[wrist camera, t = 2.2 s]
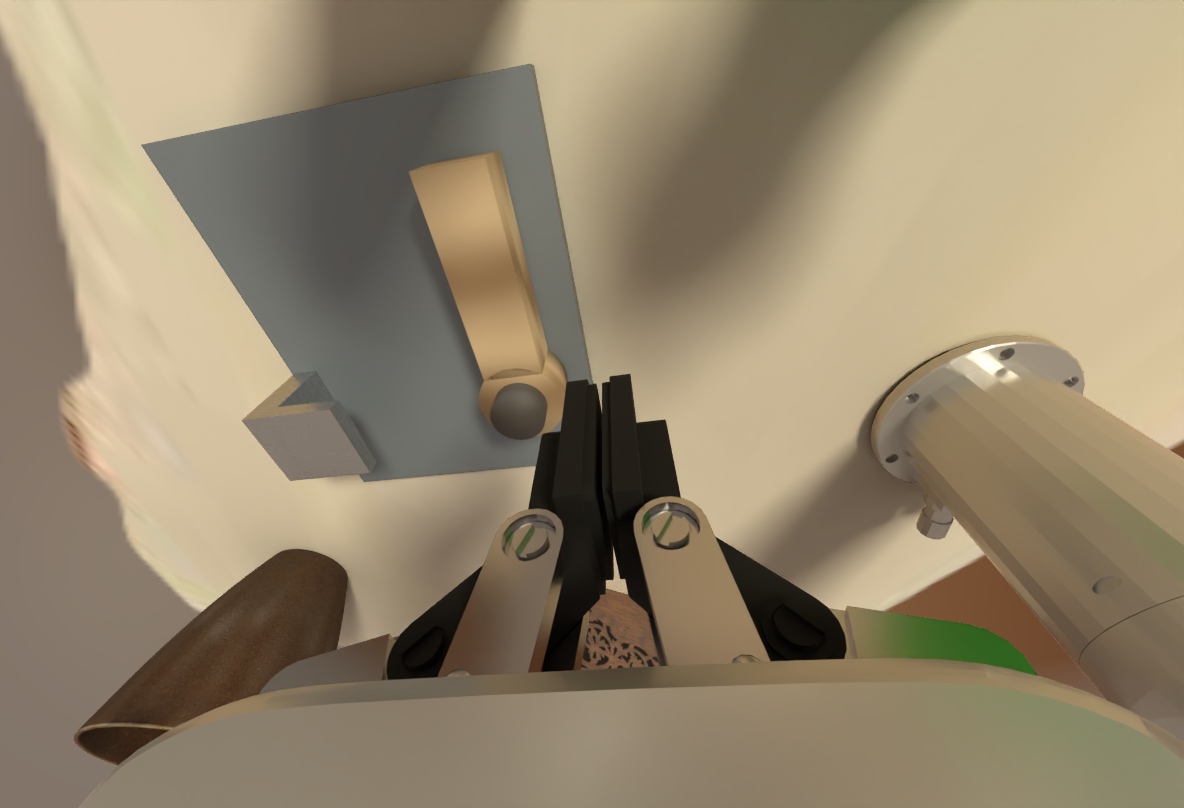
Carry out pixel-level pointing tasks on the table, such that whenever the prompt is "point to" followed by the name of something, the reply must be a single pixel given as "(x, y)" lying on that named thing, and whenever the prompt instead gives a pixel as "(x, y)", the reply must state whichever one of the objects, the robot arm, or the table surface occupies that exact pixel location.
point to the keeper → (309, 431)
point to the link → (493, 292)
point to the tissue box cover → (618, 635)
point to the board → (381, 255)
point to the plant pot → (225, 652)
